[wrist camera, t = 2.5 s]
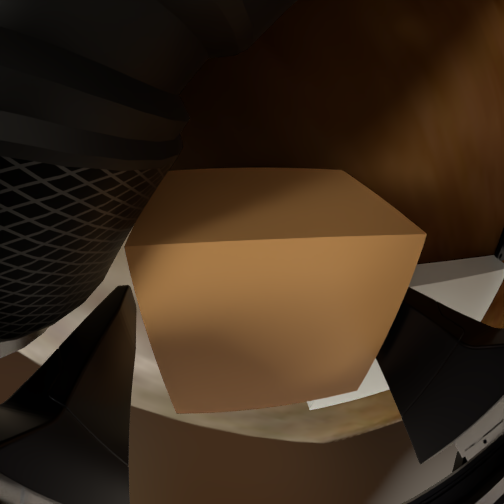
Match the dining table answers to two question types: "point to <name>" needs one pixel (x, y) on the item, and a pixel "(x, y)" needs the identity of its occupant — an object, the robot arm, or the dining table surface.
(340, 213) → the plug
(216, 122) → the dining table surface
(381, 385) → the socket plate
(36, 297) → the muzzle brake
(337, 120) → the dining table surface
